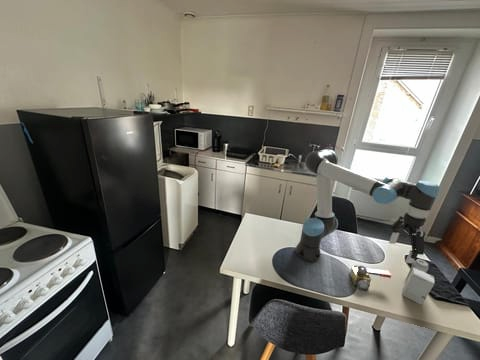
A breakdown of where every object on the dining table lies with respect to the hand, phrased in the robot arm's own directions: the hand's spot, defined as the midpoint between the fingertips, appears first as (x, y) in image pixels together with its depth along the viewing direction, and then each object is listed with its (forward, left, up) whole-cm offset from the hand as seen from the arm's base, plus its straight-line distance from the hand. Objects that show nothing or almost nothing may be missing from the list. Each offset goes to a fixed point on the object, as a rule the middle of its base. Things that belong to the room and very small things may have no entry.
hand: (399, 252), depth 99 cm
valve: (-13, +2, -24) cm, 27 cm away
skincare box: (+11, -3, -24) cm, 27 cm away
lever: (-7, +2, -17) cm, 18 cm away
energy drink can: (+16, +6, -24) cm, 29 cm away
